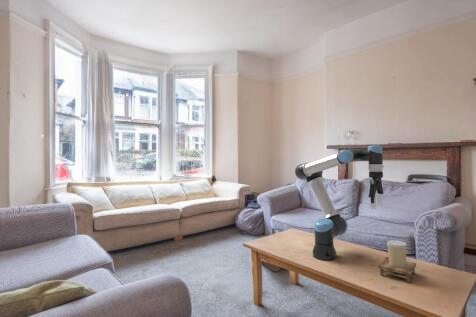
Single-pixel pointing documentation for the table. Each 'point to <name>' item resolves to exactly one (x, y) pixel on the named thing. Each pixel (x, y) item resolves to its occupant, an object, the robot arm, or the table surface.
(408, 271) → the footstool
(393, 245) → the coffee cup
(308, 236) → the table surface
